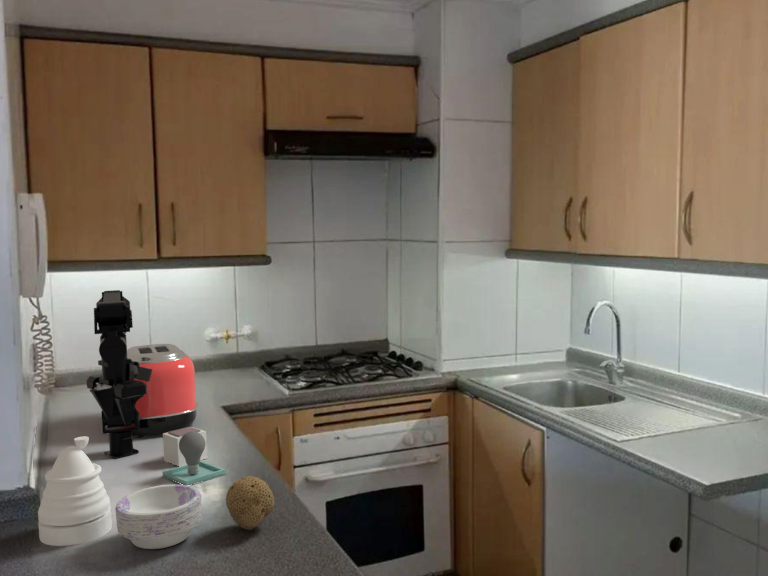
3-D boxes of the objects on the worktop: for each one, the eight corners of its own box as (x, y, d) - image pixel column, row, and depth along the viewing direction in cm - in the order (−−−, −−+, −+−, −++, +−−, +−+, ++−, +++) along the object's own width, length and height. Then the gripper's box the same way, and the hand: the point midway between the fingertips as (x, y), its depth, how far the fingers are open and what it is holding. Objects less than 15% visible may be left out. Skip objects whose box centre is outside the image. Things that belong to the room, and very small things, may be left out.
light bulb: (186, 469, 172) (184, 428, 171) (210, 469, 171) (208, 428, 170) (176, 477, 166) (173, 435, 165) (200, 478, 165) (198, 435, 164)
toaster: (204, 433, 204) (200, 352, 202) (118, 444, 196) (113, 360, 194) (189, 408, 234) (185, 337, 232) (113, 417, 225) (109, 344, 223)
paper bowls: (103, 540, 134) (101, 499, 134) (178, 516, 145) (176, 477, 144) (141, 566, 123) (138, 521, 123) (218, 537, 134) (216, 496, 133)
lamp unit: (164, 461, 180) (162, 432, 179) (193, 452, 186) (192, 424, 185) (179, 466, 175) (177, 437, 175) (208, 458, 181) (207, 429, 181)
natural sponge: (255, 514, 144) (253, 466, 143) (285, 525, 138) (283, 475, 138) (218, 529, 138) (215, 478, 137) (247, 542, 132) (245, 489, 131)
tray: (162, 476, 168) (162, 471, 168) (201, 465, 176) (201, 460, 176) (186, 486, 161) (186, 481, 161) (225, 474, 169) (225, 469, 169)
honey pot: (107, 513, 147) (102, 427, 146) (116, 536, 136) (110, 442, 135) (37, 527, 141) (31, 437, 140) (41, 552, 130) (34, 454, 129)
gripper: (166, 354, 167) (169, 420, 169) (127, 347, 180) (131, 408, 181) (120, 361, 159) (124, 431, 161) (83, 353, 172) (87, 417, 173)
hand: (118, 421), depth 169 cm, fingers open, 9 cm apart
